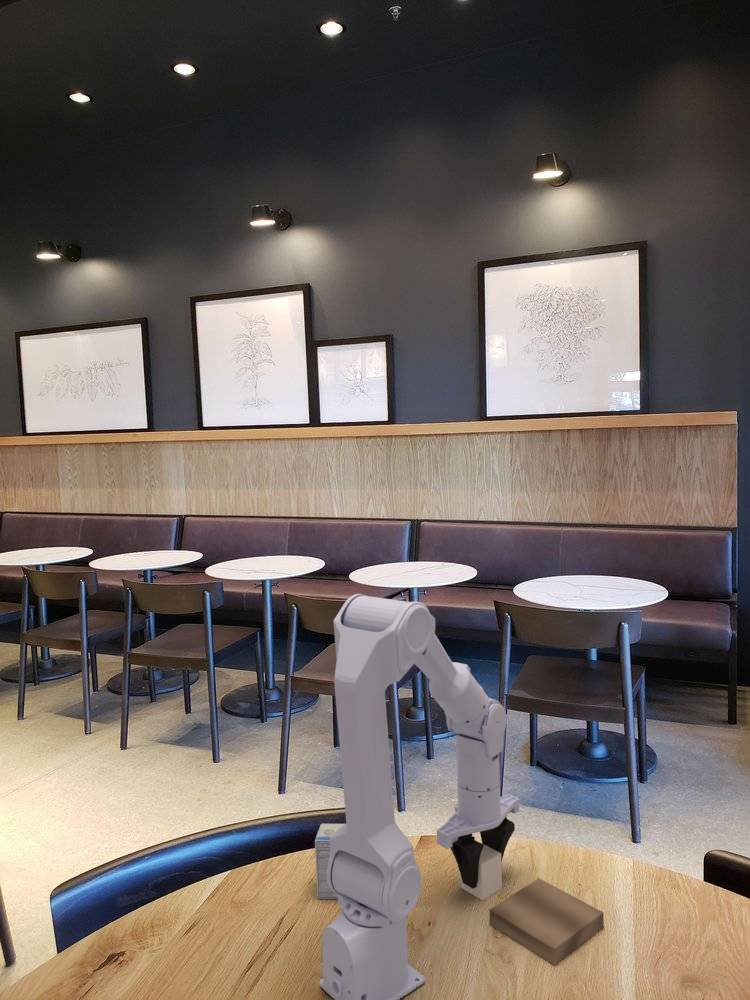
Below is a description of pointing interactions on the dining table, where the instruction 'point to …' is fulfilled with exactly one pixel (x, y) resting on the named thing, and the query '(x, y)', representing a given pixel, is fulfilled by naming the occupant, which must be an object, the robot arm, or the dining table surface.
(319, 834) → the medicine box
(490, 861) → the off-white block
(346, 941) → the robot arm
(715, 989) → the dining table surface
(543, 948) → the walnut plinth
